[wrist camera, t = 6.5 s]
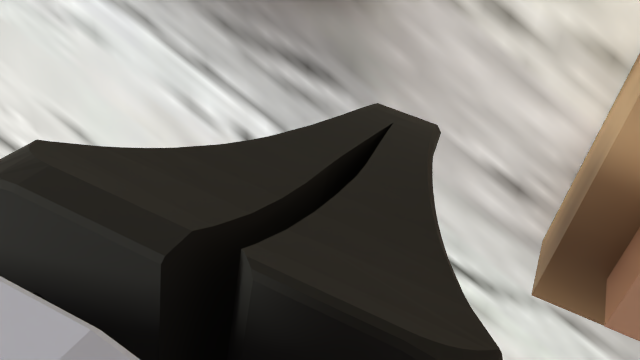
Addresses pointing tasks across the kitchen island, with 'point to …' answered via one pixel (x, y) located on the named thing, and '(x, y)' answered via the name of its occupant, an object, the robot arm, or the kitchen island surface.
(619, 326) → the tile
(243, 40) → the kitchen island surface
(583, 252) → the walnut board
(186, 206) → the robot arm
